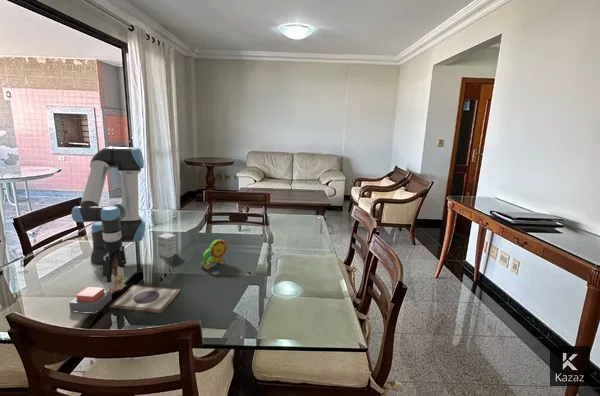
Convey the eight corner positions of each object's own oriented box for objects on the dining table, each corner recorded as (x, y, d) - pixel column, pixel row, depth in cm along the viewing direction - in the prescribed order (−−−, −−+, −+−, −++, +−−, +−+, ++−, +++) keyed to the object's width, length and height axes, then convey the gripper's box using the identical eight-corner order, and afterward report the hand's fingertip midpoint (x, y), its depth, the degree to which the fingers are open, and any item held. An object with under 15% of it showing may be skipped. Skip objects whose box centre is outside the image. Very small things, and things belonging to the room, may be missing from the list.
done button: (77, 301, 138) (76, 295, 137) (88, 292, 145) (88, 286, 144) (93, 303, 137) (92, 296, 137) (104, 294, 144) (103, 288, 144)
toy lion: (205, 271, 180) (205, 245, 176) (200, 267, 183) (199, 242, 180) (228, 262, 192) (228, 238, 188) (222, 259, 195) (223, 236, 192)
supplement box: (158, 255, 195) (157, 235, 192) (168, 251, 202) (167, 232, 199) (166, 258, 192) (166, 238, 189) (176, 254, 198) (176, 234, 195)
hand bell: (121, 281, 163) (119, 252, 159) (129, 287, 158) (127, 257, 154) (103, 287, 157) (101, 257, 153) (110, 294, 152) (108, 263, 148)
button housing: (70, 311, 137) (69, 302, 136) (88, 298, 148) (87, 289, 147) (95, 314, 136) (94, 304, 135) (111, 300, 147) (111, 291, 146)
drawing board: (108, 308, 141) (108, 306, 141) (133, 286, 160) (133, 284, 159) (162, 313, 140) (161, 311, 140) (180, 290, 158) (180, 288, 158)
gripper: (106, 248, 141) (110, 295, 147) (132, 232, 161) (135, 274, 166) (89, 246, 142) (94, 293, 147) (118, 231, 161) (121, 273, 167)
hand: (116, 283), depth 157 cm, fingers open, 7 cm apart
